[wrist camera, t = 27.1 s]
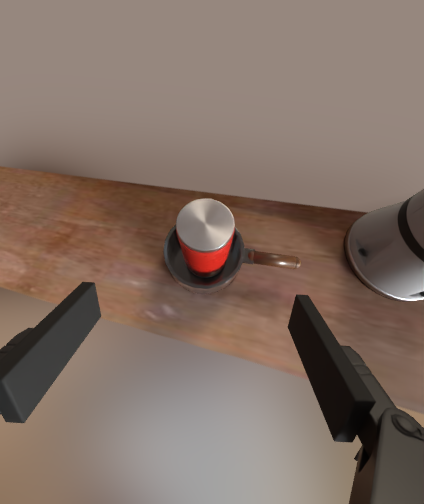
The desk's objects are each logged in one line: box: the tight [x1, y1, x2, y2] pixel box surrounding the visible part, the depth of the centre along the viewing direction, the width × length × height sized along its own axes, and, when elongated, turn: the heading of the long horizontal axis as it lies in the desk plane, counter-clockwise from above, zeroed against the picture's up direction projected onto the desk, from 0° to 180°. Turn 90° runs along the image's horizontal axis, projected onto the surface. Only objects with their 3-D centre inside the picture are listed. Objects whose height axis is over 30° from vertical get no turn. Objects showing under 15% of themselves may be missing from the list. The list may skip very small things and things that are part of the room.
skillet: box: [163, 225, 244, 294], centre depth 33 cm, size 11×11×4 cm
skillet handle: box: [242, 248, 301, 269], centre depth 31 cm, size 8×2×2 cm, turn 82°
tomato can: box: [176, 199, 235, 277], centre depth 29 cm, size 7×7×12 cm
